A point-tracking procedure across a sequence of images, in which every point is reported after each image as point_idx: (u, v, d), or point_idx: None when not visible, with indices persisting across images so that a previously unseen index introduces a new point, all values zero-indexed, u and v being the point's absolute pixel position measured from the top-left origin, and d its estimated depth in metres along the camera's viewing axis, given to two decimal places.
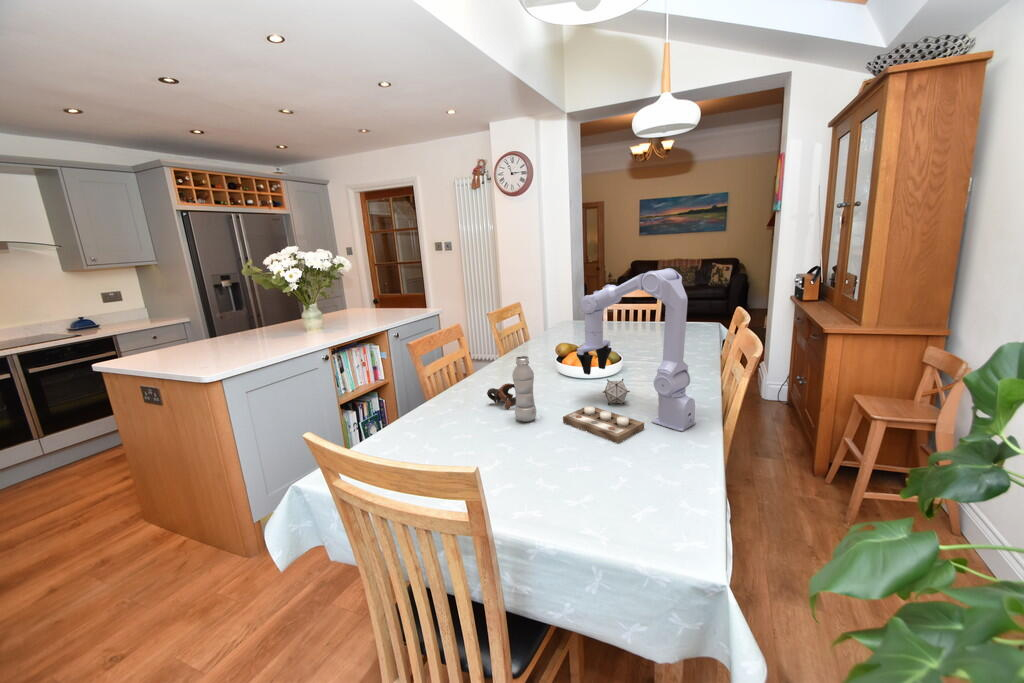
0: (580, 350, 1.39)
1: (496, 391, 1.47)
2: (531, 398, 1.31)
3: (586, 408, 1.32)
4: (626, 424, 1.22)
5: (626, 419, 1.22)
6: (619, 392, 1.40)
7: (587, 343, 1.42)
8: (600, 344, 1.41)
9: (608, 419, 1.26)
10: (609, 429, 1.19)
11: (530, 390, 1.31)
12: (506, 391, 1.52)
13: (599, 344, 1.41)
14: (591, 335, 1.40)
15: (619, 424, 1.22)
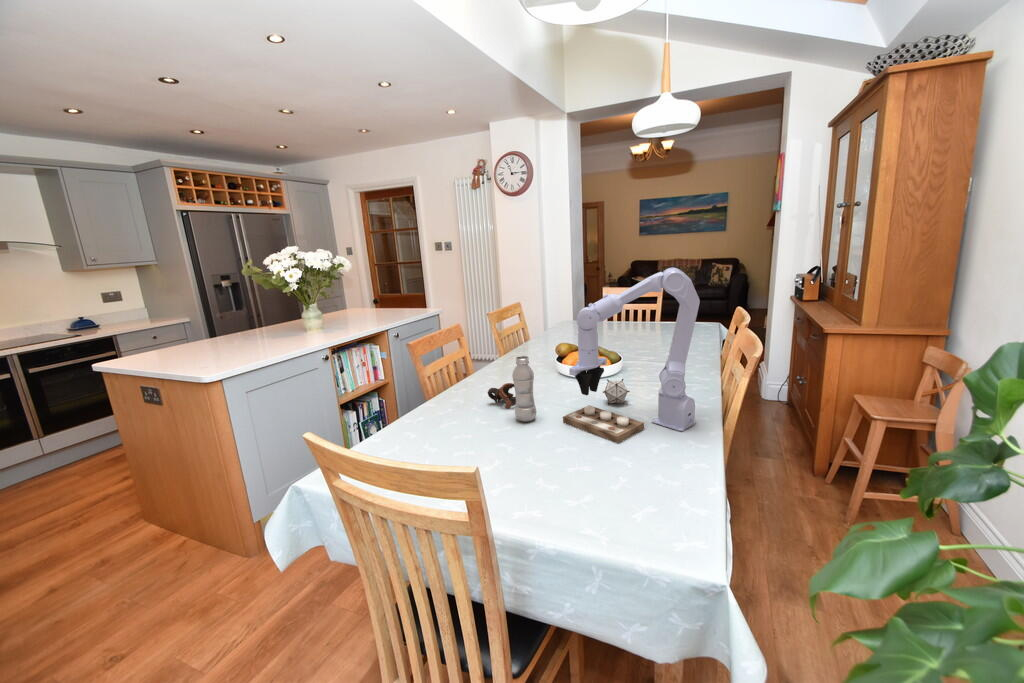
0: (573, 370, 1.24)
1: (497, 391, 1.47)
2: (531, 398, 1.31)
3: (586, 408, 1.32)
4: (626, 424, 1.22)
5: (626, 419, 1.22)
6: (619, 392, 1.40)
7: (581, 362, 1.27)
8: (595, 363, 1.26)
9: (608, 419, 1.26)
10: (609, 429, 1.19)
11: (530, 390, 1.31)
12: (506, 391, 1.52)
13: (594, 363, 1.26)
14: (585, 353, 1.25)
15: (619, 424, 1.22)
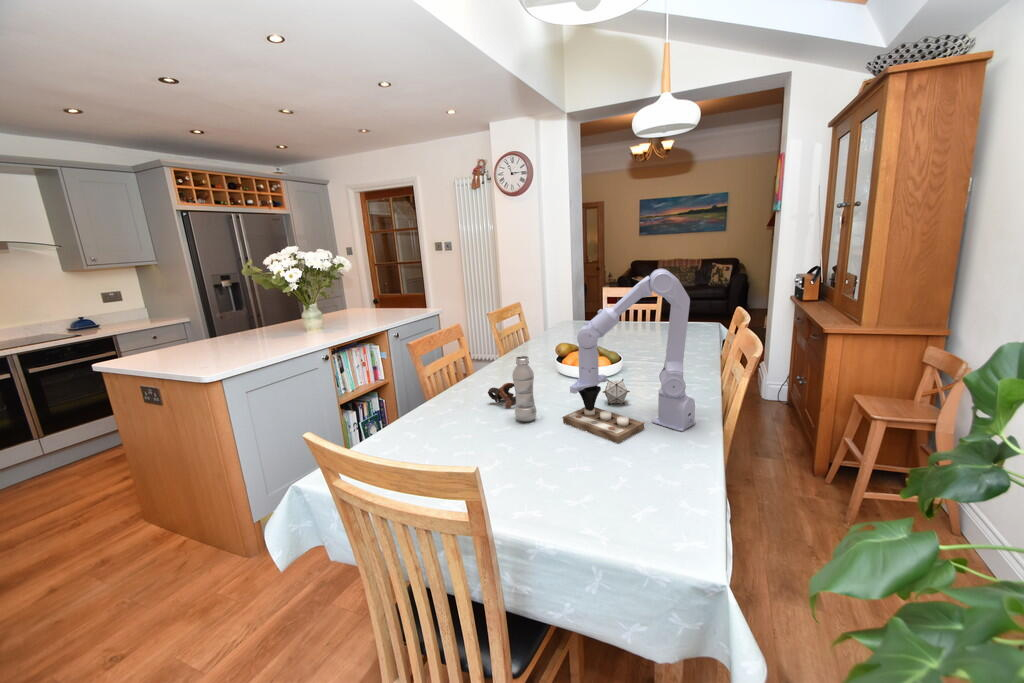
0: (573, 388, 1.25)
1: (497, 390, 1.47)
2: (531, 398, 1.31)
3: None
4: (626, 424, 1.22)
5: (626, 419, 1.22)
6: (619, 392, 1.40)
7: (581, 380, 1.28)
8: (595, 381, 1.28)
9: (608, 419, 1.26)
10: (609, 429, 1.19)
11: (530, 390, 1.31)
12: (507, 390, 1.52)
13: (594, 381, 1.27)
14: (585, 371, 1.27)
15: (619, 424, 1.22)
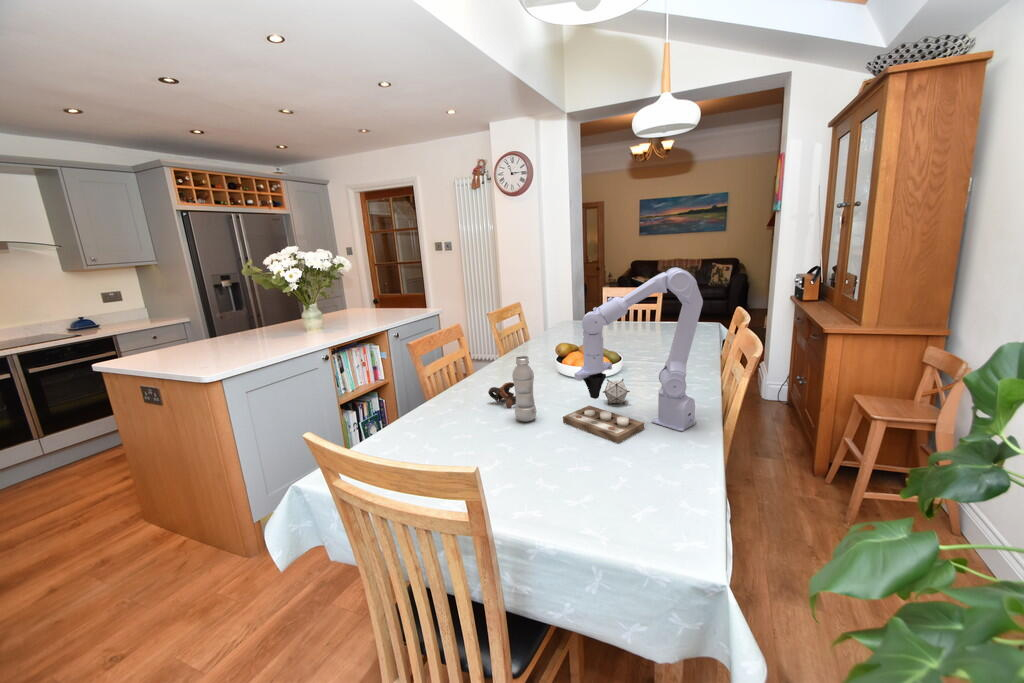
0: (578, 375, 1.23)
1: (497, 390, 1.48)
2: (531, 398, 1.31)
3: (586, 412, 1.32)
4: (626, 424, 1.22)
5: (626, 419, 1.22)
6: (619, 392, 1.40)
7: (586, 367, 1.26)
8: (600, 368, 1.25)
9: (608, 419, 1.26)
10: (609, 429, 1.19)
11: (530, 390, 1.31)
12: (507, 390, 1.53)
13: (599, 368, 1.25)
14: (590, 358, 1.24)
15: (619, 424, 1.22)
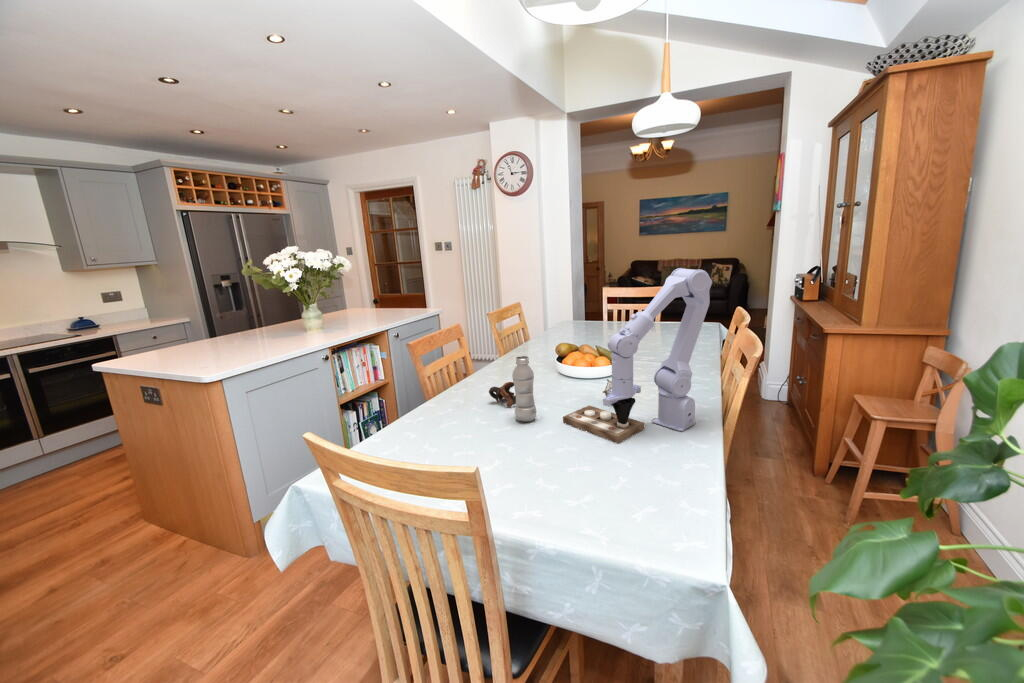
0: (607, 401, 1.16)
1: (498, 389, 1.48)
2: (531, 398, 1.31)
3: (586, 412, 1.32)
4: None
5: (626, 423, 1.22)
6: None
7: (615, 391, 1.19)
8: (630, 393, 1.19)
9: (608, 419, 1.26)
10: (609, 429, 1.19)
11: (530, 390, 1.31)
12: (507, 389, 1.53)
13: (629, 393, 1.18)
14: (620, 382, 1.18)
15: None
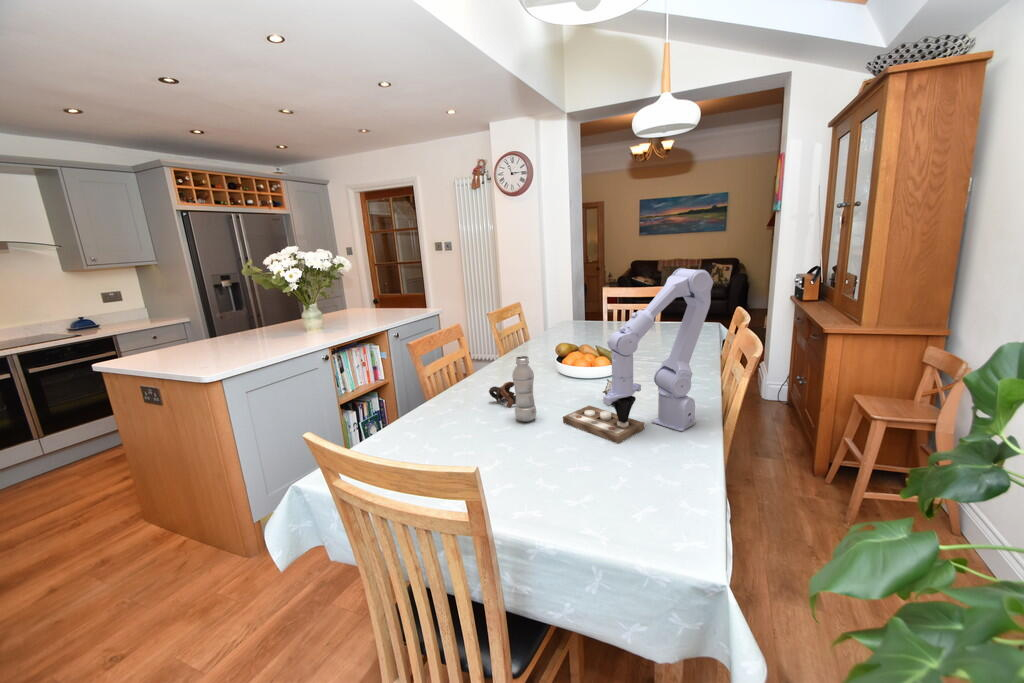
0: (607, 399, 1.16)
1: (498, 389, 1.48)
2: (531, 398, 1.31)
3: (586, 412, 1.32)
4: None
5: (626, 423, 1.22)
6: None
7: (615, 389, 1.19)
8: (630, 391, 1.19)
9: (608, 419, 1.26)
10: (609, 429, 1.19)
11: (530, 390, 1.31)
12: (508, 389, 1.53)
13: (629, 391, 1.18)
14: (620, 381, 1.18)
15: None
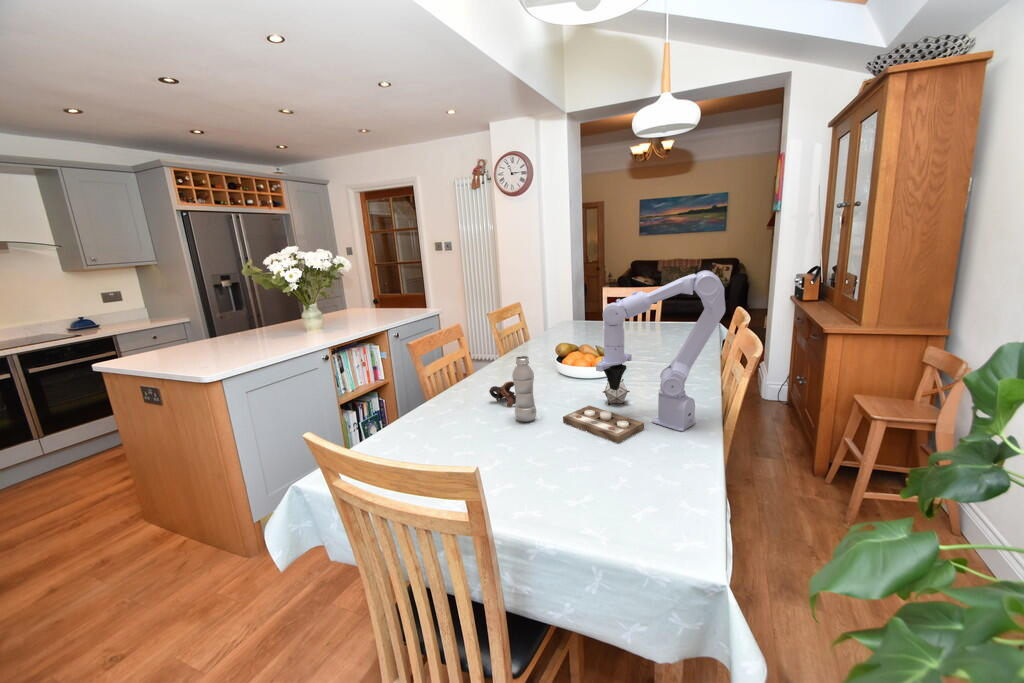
0: (599, 366, 1.23)
1: (498, 389, 1.48)
2: (531, 398, 1.31)
3: (586, 412, 1.32)
4: None
5: (626, 423, 1.22)
6: (619, 392, 1.40)
7: (607, 358, 1.26)
8: (621, 359, 1.25)
9: (608, 419, 1.26)
10: (609, 429, 1.19)
11: (530, 390, 1.31)
12: (508, 389, 1.53)
13: (620, 359, 1.25)
14: (611, 349, 1.24)
15: None
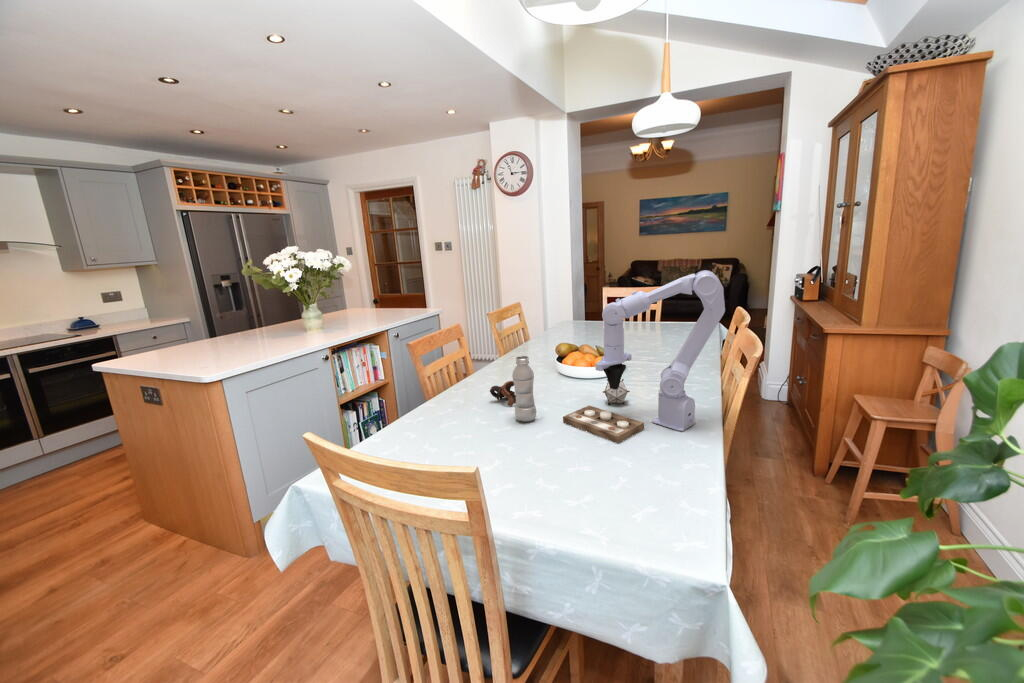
0: (599, 366, 1.23)
1: (499, 388, 1.49)
2: (531, 398, 1.31)
3: (586, 412, 1.32)
4: None
5: (626, 423, 1.22)
6: (619, 392, 1.40)
7: (606, 357, 1.26)
8: (621, 359, 1.26)
9: (608, 419, 1.26)
10: (609, 429, 1.19)
11: (530, 390, 1.31)
12: (508, 388, 1.54)
13: (620, 359, 1.25)
14: (611, 349, 1.25)
15: None
